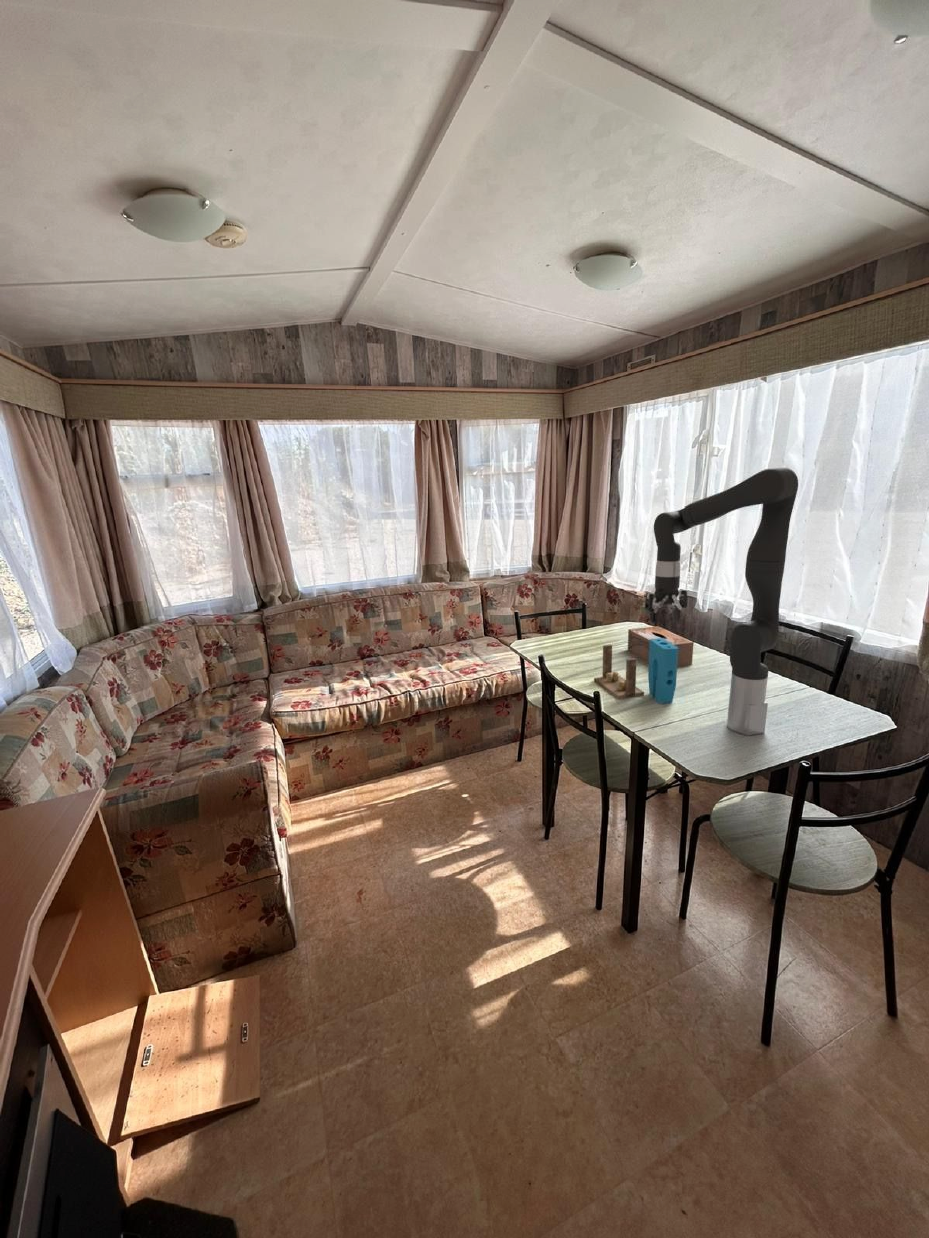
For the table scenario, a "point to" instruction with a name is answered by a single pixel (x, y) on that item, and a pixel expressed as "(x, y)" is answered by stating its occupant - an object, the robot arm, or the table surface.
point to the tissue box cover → (642, 636)
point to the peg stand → (618, 677)
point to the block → (662, 670)
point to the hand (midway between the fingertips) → (664, 621)
